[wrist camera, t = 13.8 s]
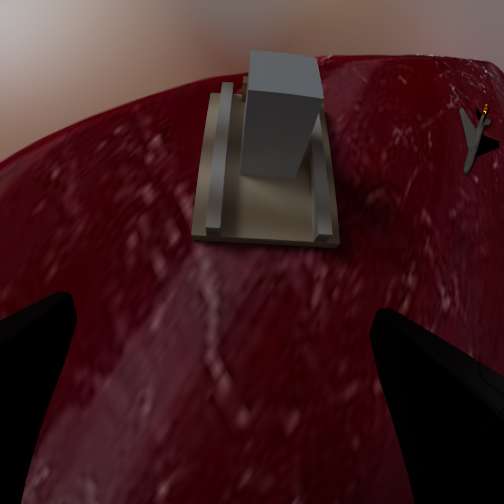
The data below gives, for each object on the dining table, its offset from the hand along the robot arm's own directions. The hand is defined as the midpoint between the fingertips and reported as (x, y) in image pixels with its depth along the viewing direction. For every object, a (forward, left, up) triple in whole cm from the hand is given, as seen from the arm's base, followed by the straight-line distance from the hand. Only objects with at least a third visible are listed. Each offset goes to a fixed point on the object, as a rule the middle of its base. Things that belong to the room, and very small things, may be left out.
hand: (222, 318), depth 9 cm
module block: (+12, -9, -13) cm, 20 cm away
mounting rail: (+12, -9, -14) cm, 21 cm away
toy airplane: (+8, -40, -14) cm, 43 cm away
